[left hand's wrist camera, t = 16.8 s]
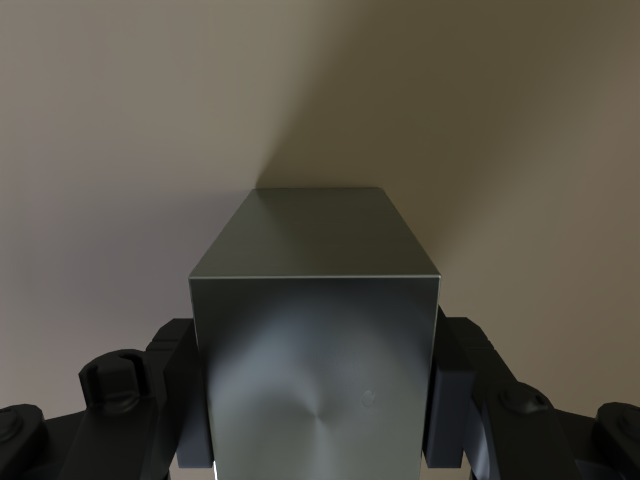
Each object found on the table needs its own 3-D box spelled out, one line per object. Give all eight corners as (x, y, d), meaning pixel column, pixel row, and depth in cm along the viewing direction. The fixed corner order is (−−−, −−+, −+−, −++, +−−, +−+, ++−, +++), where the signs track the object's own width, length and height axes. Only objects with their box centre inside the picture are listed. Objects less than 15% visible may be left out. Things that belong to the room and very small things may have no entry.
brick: (375, 343, 17) (415, 523, 10) (262, 343, 17) (220, 524, 10) (382, 187, 15) (442, 274, 7) (252, 188, 15) (186, 276, 7)
